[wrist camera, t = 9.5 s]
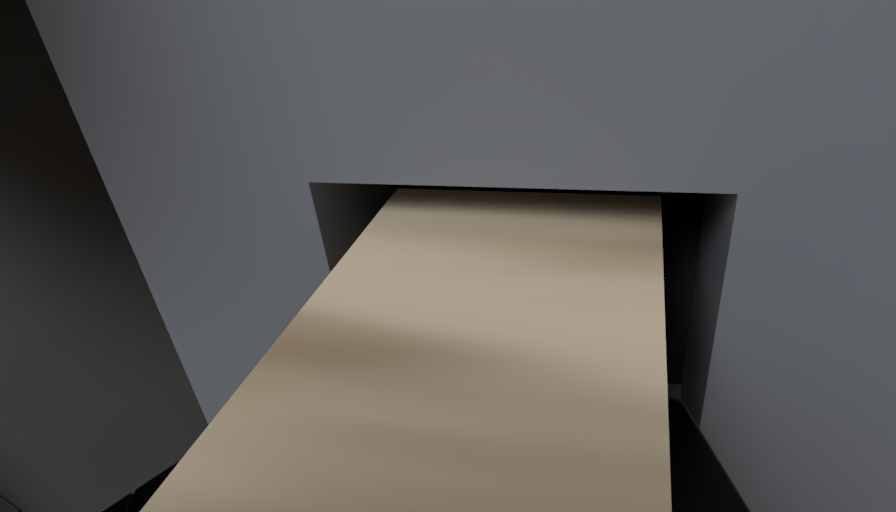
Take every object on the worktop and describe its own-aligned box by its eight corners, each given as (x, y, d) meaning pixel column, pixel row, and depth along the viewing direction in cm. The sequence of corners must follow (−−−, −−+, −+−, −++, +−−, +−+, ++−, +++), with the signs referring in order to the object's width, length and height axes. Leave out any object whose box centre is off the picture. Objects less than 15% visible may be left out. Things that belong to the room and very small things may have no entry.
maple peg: (642, 401, 12) (632, 1073, 5) (426, 375, 13) (200, 888, 6) (660, 196, 9) (685, 931, 3) (397, 188, 11) (-1, 688, 4)
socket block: (847, 533, 14) (889, 674, 11) (309, 443, 18) (255, 533, 15) (1151, -237, 7) (1437, -298, 4) (136, -100, 11) (-15, -92, 8)
